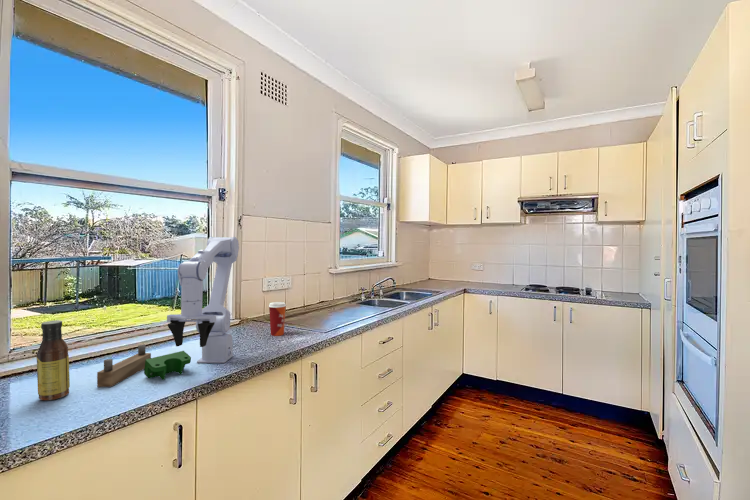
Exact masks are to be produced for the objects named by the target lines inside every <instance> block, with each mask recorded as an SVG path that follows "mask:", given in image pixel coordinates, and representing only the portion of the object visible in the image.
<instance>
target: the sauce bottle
mask: <svg viewBox="0 0 750 500" xmlns="http://www.w3.org/2000/svg"><path fill="white" fill-rule="evenodd" d="M40 324H41V327H40V329H41V332H42V333H41V334H42V338H41V339H42V340H41V343H40V344H39V347H38V351H37V353H36V377H37V395H38V399H39V400H40V401H46V402H47V401H55V400H59V399H60V398H61V399H62V398H64V397H66V396H68V395H69V393H70V386H71V385H70V383H71V382H70V362H69V361H70V356H69V355H70V354H69V345H68V344H67V342H66V340H64V339H63V338H62V337H63V334H62V332H63V331H62V328H63V321H62V320H58V319H57V320H48V321H43V322H42V323H40Z"/></svg>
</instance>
